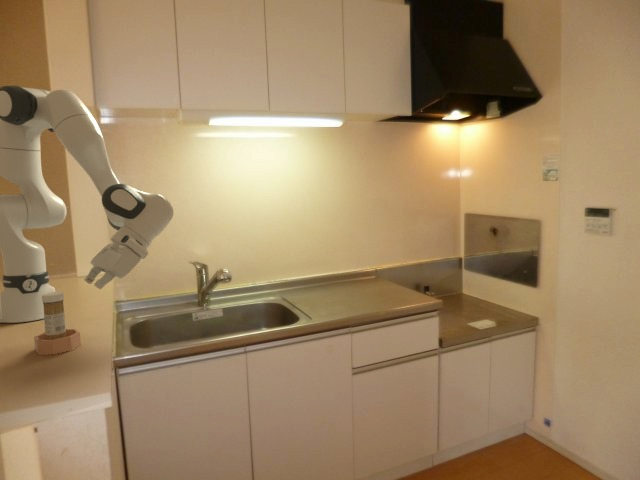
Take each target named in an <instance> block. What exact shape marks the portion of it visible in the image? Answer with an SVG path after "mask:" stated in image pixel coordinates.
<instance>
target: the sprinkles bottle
mask: <svg viewBox="0 0 640 480" xmlns="http://www.w3.org/2000/svg"><path fill="white" fill-rule="evenodd" d="M64 298H65V297H64V292H63V291H55V292H49V293H44V294H42V302H43V307H44V318H43V321H44V332H45V334H46V340H54V339H59V338H64V337H66V329H67V328H66V318H65V317H66V315H65V314H66V313H65V308H64Z"/></svg>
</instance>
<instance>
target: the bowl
mask: <svg viewBox="0 0 640 480" xmlns="http://www.w3.org/2000/svg"><path fill="white" fill-rule="evenodd" d="M33 339H34V350H35V352H36V354H37V355H38V356H39V355H41V356H42V355H45V356H49V355H50V356H53V354H55V355H58V353H59V354H62V352H63V353H67V352H66V351H68V352H72V351H73V349H74V350H75V349H77V348H78V347H80V346H81V345H82V344H81V343H82V342H81V331H80V330H78V329H77V328H66V337H64V338H59V339H54V340H46V334H45V331H44V332H41V333H40V334H39V333H38V334H37V335H35V336H34V337H33ZM48 354H49V355H48ZM51 354H52V355H51Z"/></svg>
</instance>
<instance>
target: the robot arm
mask: <svg viewBox="0 0 640 480" xmlns="http://www.w3.org/2000/svg"><path fill="white" fill-rule="evenodd" d="M45 130H48V131H49V132H51V133H53V132H54V134H55V136H56V138H57V139H58V140H59V142H60V143H61V144H62V147H64V148H65V149H66V151H67V152H68V153H69V154H70V155H71V156H72V158H74V160H75V161H76V162H77V164H78V165H80V167H81V168H82V170H84V172H85V173H86V174H87V175H88V177H90V179H91V180H92V182H93V184H94V186H95V188H96V189H97V191H98V193H99V195H100V196H101V204H102V207H103V210H104V213H105V214H106V217H107V221H108V223H109V225H110V226H111V227H112V228H113V229H115V230H116V232H115V233H114V234H113V235H112V236H111V237H110V240H111V242H112V243H108V244H107V245H105V246H104V247H103V248H102V249H101V250H100V251H99V252H98V253H97V254H96V255H95V256H94V257H92V259H91V260H90V265H91V266H93V267H92V268H91V269H90V270H89V272H88V274H87V275H86V277H84V282H86V283H87V284H93V282H94V281H95V280H96V278H97V276H98V275H100V273H102V272H103V273H104V274H103V275H102V276H101V277H100V278H99V279H97V280H96V282H94V287H95V288H97V289H98V290H101V289H103V288H104V287H105V286H106V285H107V284H108V283H110V282H112V281H113V280H114V279H115V278H118V279H123V278H125V277H126V276H127V275H129V273H130V272H131V271H132V270H133V269H134V268H135V267H136V266H137V265H138V264H139V263H140V262H141V260H144V259H146V258H147V256H148V255H149V251H148V248H149V247H150V246H151V244H152V242H153V240H154V239H155V238H156V237H158V236H159V235H160V234H161V233H162V232H163V231H164V230H165V229H166V227H167V226H168V225H169V223H170V222H171V220H172V219H173V216H174V209H173V206H172V205H171V203H170V201H168V200H167V198H166V197H164V196H163V195H162V194H160V193H156V192H155V193H150V192H145V191H141V190H139V189H136V188H134V187H132V186H130V185H129V184H126V183H121V182H120V181H119V180H118V178H117V176H116V175H115V173H114V170H113V169H112V166H111V163H110V159H109V155H108V151H107V147H106V142H105V139H104V136H103V133H102V131H101V128H100V126H99V125H98V122H97V120H96V119H95V117H94V116H93V114H92V113H91V112H90V110H89V108H88V107H87V106H86V104H85V103H84V102H83V101H82V100H81V99H80V98H79V97H78V96H77V94H76V93H74V92H73V91H71V90H68V89H55V90H53V91H50V90H45V89H42V88H32V87H23V86H19V85H4V86H0V177H2V179H4V180H6V181H8V182H11V183H12V184H15V185H17V186H18V188H19V192H20V193H18V194H17V193H15V194H14V193H13V194H11V193H10V194H7V193H3V194H2V193H1V194H0V254H1V260H2V267H3V275H2V279H1V280H2V287H3V290H2V292H0V323H5V324H6V323H8V324H12V323H13V324H15V323H24V322H25V323H26V322H32V321H34V322H35V321H38V320H44V307H43V302H42V294H44V293H49V292H56V289H55V287H53V286H52V285H50V283H49V282H50V274H49V271H47V262H46V251H45V249H44V247H43V246H42V244H40V243H39V242H36V241H34V240H31V239H28V238H25V236H24V233H23V230H30V229H31V230H32V229H46V228H52V227H55V226H59V225H61V224H63V222H64V221H65V219H66V217H67V214H68V211H67V205H66V204H65V202H64V200H63V199H62V198H60V197H59V196H58V195H56V194H55V193H54V192H53V191H52V190H51V189H50V187H49V186H48V185H47V183H46V181H45V179H44V176H43V175H44V174H43V171H42V169H43V168H42V157H41V155H42V154H41V153H42V152H41V135H42V133H43V132H44V131H45Z"/></svg>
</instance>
